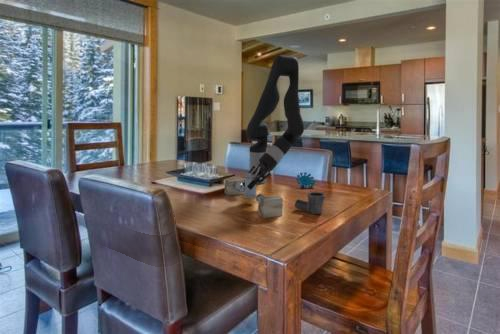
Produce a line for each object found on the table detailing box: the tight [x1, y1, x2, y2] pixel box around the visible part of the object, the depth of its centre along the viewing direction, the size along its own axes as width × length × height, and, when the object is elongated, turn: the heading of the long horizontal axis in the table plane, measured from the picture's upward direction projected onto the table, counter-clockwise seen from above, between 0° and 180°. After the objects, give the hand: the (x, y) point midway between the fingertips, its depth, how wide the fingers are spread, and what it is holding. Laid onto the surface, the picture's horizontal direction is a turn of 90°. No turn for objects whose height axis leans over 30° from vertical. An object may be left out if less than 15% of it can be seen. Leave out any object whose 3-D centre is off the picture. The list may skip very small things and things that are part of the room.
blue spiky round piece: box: [295, 171, 318, 190], centre depth 188 cm, size 11×6×10 cm
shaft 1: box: [233, 182, 245, 193], centre depth 165 cm, size 7×4×4 cm, turn 24°
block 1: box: [224, 177, 245, 196], centre depth 171 cm, size 5×8×7 cm, turn 114°
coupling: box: [243, 173, 258, 199], centre depth 153 cm, size 5×5×10 cm
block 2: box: [257, 194, 284, 219], centre depth 137 cm, size 5×8×7 cm, turn 114°
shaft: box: [255, 193, 265, 203], centre depth 142 cm, size 7×4×4 cm, turn 24°
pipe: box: [294, 191, 326, 215], centre depth 141 cm, size 6×13×8 cm, turn 51°
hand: (246, 186), depth 152 cm, fingers closed on coupling, 4 cm apart
